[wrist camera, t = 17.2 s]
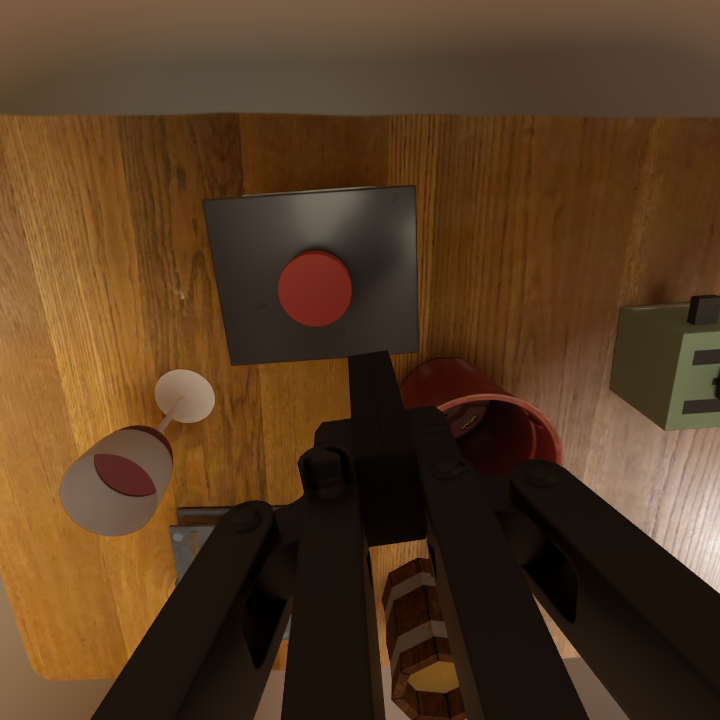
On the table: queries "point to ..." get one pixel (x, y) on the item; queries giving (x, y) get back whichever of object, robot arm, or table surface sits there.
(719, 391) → the slider
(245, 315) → the red button pedestal
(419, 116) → the table surface
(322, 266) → the timer button
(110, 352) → the table surface
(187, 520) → the book
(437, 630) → the mug
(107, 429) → the table surface
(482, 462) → the flower pot
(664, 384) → the toaster
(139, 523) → the wineglass
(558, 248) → the table surface
